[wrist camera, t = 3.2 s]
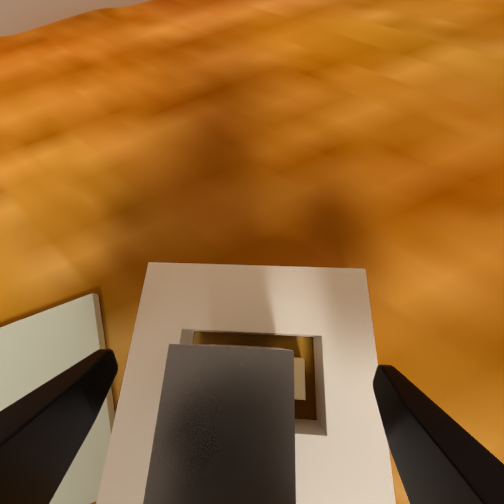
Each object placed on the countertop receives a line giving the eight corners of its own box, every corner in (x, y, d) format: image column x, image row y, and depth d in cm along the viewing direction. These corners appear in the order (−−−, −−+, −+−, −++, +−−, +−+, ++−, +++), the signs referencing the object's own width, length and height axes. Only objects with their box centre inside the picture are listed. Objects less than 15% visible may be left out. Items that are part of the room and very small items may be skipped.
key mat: (125, 484, 13) (118, 490, 12) (-91, 581, 12) (-109, 593, 11) (98, 294, 17) (92, 293, 16) (-66, 356, 16) (-78, 356, 15)
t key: (301, 404, 14) (378, 530, 4) (199, 397, 14) (70, 499, 5) (300, 348, 15) (359, 353, 5) (205, 343, 15) (110, 340, 6)
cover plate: (375, 514, 12) (402, 556, 9) (123, 490, 13) (91, 523, 10) (351, 279, 16) (365, 268, 14) (164, 273, 17) (148, 262, 15)
